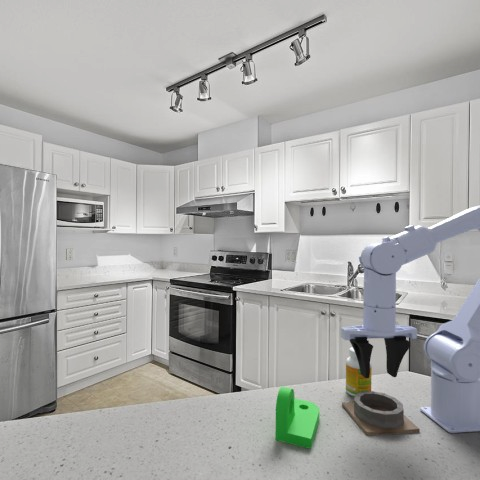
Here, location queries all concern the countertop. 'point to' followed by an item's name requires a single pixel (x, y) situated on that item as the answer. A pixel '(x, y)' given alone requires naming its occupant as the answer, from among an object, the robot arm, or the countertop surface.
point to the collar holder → (379, 414)
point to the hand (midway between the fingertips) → (378, 375)
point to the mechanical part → (295, 419)
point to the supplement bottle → (356, 376)
